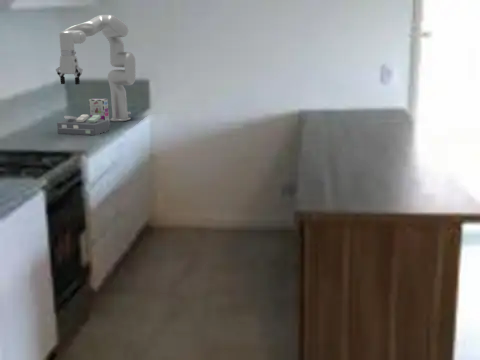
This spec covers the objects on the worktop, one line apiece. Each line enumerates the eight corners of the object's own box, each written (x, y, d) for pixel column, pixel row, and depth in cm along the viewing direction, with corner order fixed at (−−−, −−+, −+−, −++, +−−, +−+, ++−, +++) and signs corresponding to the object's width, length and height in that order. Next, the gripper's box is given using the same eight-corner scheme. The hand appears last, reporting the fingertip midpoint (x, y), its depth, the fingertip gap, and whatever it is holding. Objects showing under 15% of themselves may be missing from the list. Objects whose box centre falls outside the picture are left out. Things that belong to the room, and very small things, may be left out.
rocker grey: (71, 119, 413) (71, 116, 413) (77, 119, 412) (77, 116, 412) (64, 118, 407) (64, 115, 407) (70, 118, 405) (70, 115, 405)
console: (72, 128, 419) (71, 117, 418) (109, 130, 410) (108, 119, 408) (57, 133, 407) (56, 121, 405) (95, 135, 397) (94, 123, 395)
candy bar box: (110, 125, 425) (108, 98, 421) (105, 127, 421) (103, 100, 417) (95, 124, 430) (93, 98, 426) (90, 126, 426) (88, 99, 422)
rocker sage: (94, 117, 407) (93, 114, 406) (100, 117, 405) (100, 114, 405) (88, 122, 402) (87, 119, 401) (94, 122, 400) (93, 120, 399)
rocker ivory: (82, 116, 410) (82, 114, 409) (89, 117, 408) (88, 114, 408) (76, 121, 405) (75, 119, 404) (82, 122, 403) (82, 119, 402)
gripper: (84, 53, 393) (86, 83, 398) (58, 53, 400) (61, 83, 404) (76, 54, 387) (79, 85, 391) (50, 54, 393) (53, 84, 397)
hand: (70, 84), depth 397 cm, fingers open, 9 cm apart
